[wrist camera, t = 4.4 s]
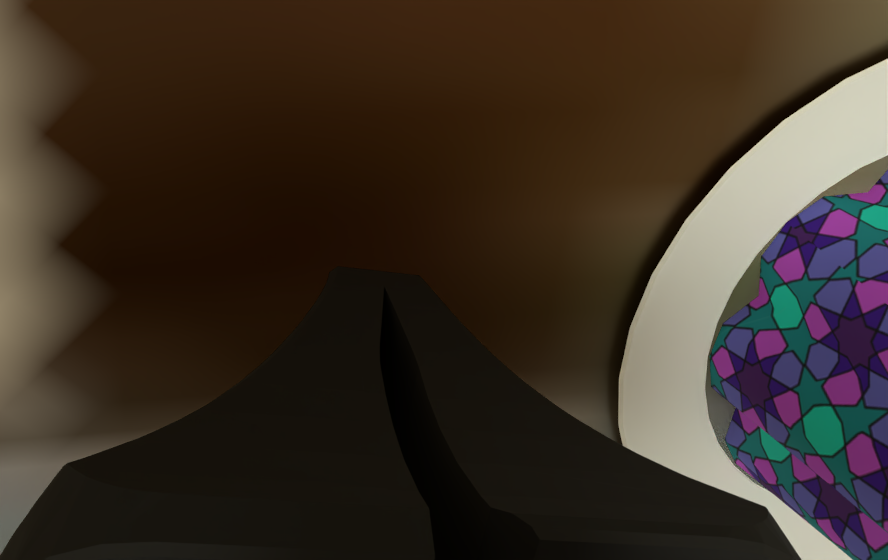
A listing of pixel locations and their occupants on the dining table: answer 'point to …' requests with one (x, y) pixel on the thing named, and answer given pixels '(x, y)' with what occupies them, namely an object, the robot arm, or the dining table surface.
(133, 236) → the dining table surface
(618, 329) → the dining table surface
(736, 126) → the dining table surface
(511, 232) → the dining table surface
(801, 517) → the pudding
